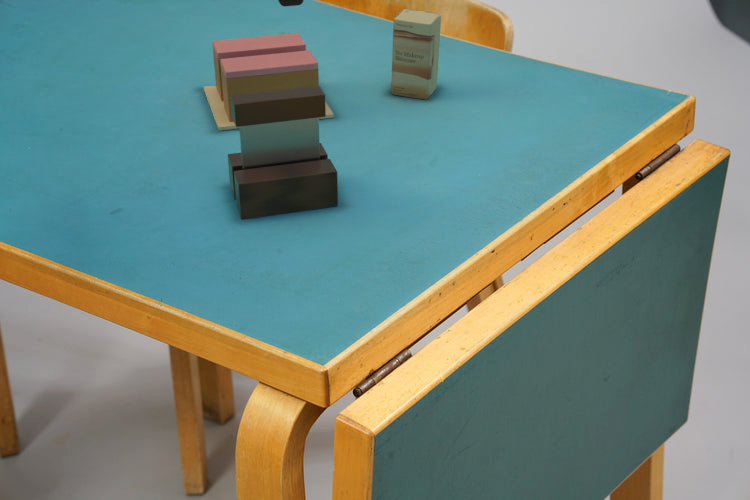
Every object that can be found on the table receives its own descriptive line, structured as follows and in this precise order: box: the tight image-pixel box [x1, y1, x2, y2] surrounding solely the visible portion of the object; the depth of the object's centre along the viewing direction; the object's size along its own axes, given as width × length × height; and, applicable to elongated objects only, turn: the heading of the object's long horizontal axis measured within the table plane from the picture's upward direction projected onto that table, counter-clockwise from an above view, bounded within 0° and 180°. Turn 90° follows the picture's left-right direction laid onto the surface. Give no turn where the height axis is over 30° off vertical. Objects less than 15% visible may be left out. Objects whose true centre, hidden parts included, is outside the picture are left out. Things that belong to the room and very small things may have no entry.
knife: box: [231, 85, 326, 170], centre depth 99 cm, size 9×2×11 cm, turn 106°
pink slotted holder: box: [203, 32, 335, 132], centre depth 121 cm, size 14×13×7 cm
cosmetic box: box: [390, 8, 442, 101], centre depth 124 cm, size 5×4×10 cm
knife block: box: [227, 142, 339, 220], centre depth 101 cm, size 10×7×4 cm
